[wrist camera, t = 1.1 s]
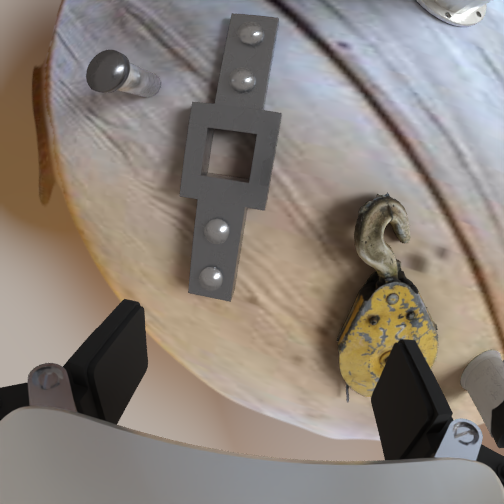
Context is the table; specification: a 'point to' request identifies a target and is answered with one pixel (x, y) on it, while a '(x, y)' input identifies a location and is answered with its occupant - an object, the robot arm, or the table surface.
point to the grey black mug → (487, 391)
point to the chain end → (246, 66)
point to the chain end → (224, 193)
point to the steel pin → (120, 75)
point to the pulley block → (382, 302)
